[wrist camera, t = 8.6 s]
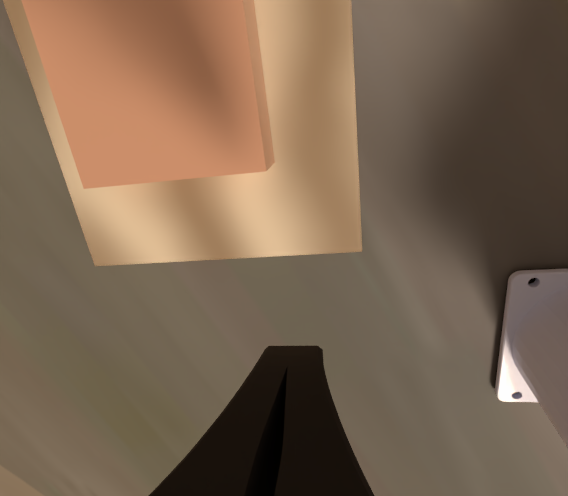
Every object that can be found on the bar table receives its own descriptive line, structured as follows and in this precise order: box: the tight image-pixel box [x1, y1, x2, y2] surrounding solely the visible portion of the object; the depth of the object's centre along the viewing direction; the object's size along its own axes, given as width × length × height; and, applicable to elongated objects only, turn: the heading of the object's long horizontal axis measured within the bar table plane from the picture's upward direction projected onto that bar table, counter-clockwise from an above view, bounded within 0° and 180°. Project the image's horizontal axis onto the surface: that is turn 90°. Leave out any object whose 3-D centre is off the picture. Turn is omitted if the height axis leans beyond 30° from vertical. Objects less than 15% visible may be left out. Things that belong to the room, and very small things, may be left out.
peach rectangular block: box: [21, 0, 275, 189], centre depth 15 cm, size 2×7×8 cm
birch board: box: [3, 0, 362, 266], centre depth 16 cm, size 14×16×2 cm
